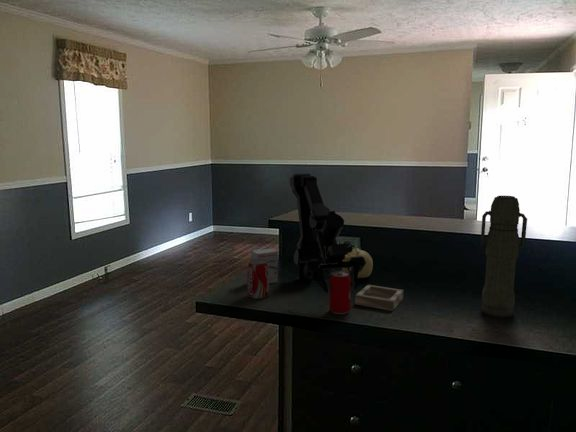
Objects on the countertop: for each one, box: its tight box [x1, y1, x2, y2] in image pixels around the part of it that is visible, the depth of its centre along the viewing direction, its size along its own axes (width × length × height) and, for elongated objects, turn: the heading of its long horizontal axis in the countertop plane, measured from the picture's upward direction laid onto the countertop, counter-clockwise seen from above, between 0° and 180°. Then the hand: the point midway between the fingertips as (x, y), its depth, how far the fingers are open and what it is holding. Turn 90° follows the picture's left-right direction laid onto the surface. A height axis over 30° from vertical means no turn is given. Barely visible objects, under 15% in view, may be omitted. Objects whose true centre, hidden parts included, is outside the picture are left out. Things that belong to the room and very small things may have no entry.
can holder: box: [354, 284, 404, 312], centre depth 151 cm, size 12×12×3 cm
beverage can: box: [329, 270, 352, 315], centre depth 142 cm, size 6×6×12 cm
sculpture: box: [341, 247, 374, 279], centre depth 177 cm, size 12×12×11 cm
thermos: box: [480, 195, 528, 318], centre depth 139 cm, size 9×12×35 cm
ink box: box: [250, 248, 279, 284], centre depth 170 cm, size 9×5×12 cm, turn 117°
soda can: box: [246, 259, 270, 300], centre depth 155 cm, size 7×7×12 cm
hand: (341, 291), depth 140 cm, fingers open, 9 cm apart
